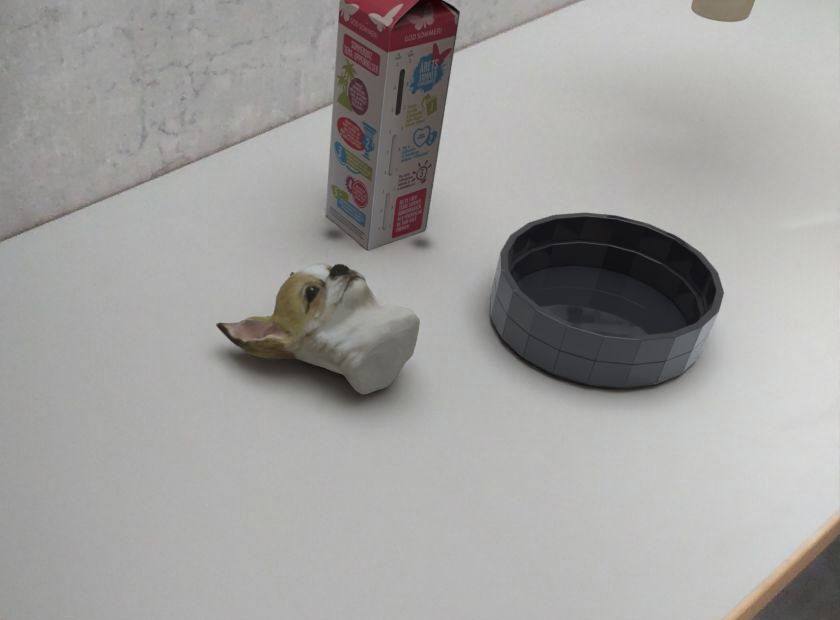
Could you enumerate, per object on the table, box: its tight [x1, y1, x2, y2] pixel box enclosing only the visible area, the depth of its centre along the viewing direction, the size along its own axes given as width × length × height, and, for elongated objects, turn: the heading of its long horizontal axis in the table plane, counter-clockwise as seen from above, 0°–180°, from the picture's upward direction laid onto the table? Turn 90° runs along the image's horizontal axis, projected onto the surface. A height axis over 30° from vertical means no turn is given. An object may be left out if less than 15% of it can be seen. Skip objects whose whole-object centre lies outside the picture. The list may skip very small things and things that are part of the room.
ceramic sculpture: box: [215, 263, 421, 396], centre depth 71 cm, size 11×9×15 cm
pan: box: [489, 212, 725, 389], centre depth 76 cm, size 17×17×5 cm
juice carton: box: [325, 0, 461, 251], centre depth 79 cm, size 7×7×22 cm
